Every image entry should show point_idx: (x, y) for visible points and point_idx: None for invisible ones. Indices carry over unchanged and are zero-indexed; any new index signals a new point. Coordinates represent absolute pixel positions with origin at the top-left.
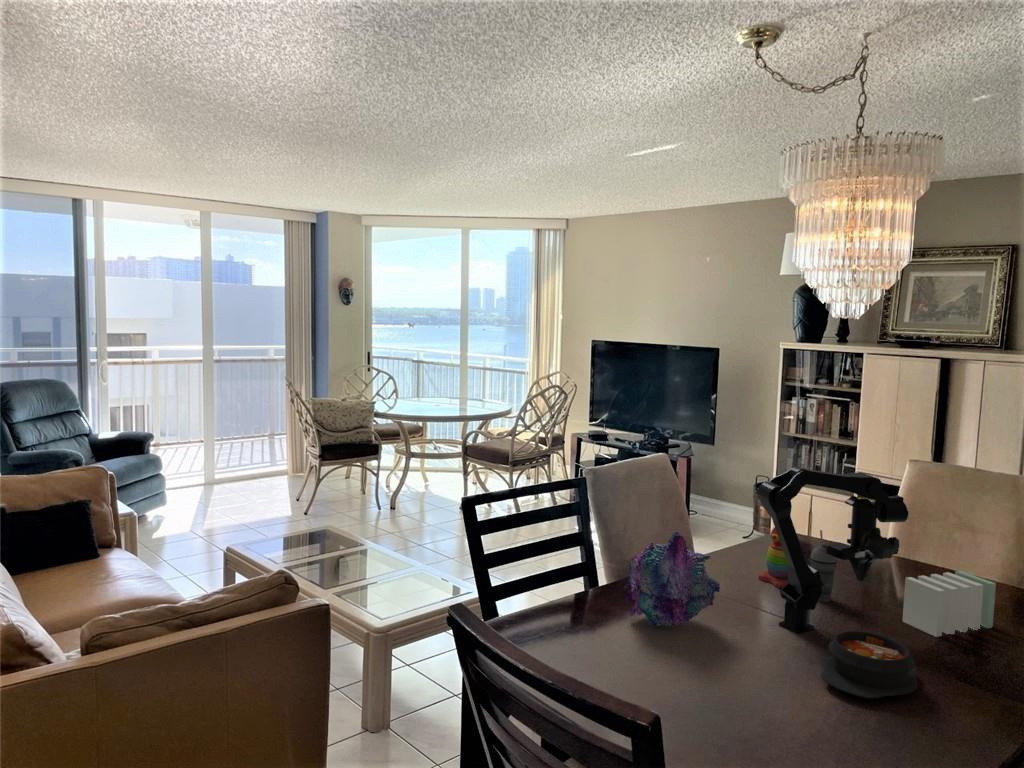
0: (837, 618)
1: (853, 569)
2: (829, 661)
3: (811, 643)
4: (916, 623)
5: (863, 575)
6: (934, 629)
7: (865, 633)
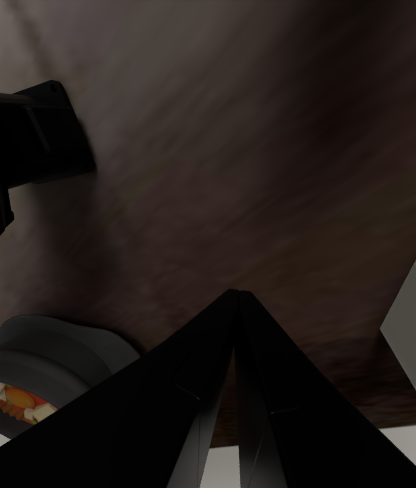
0: (230, 128)
1: (190, 322)
2: (13, 326)
3: (44, 232)
4: (413, 288)
5: (235, 353)
6: (390, 340)
7: (44, 396)
